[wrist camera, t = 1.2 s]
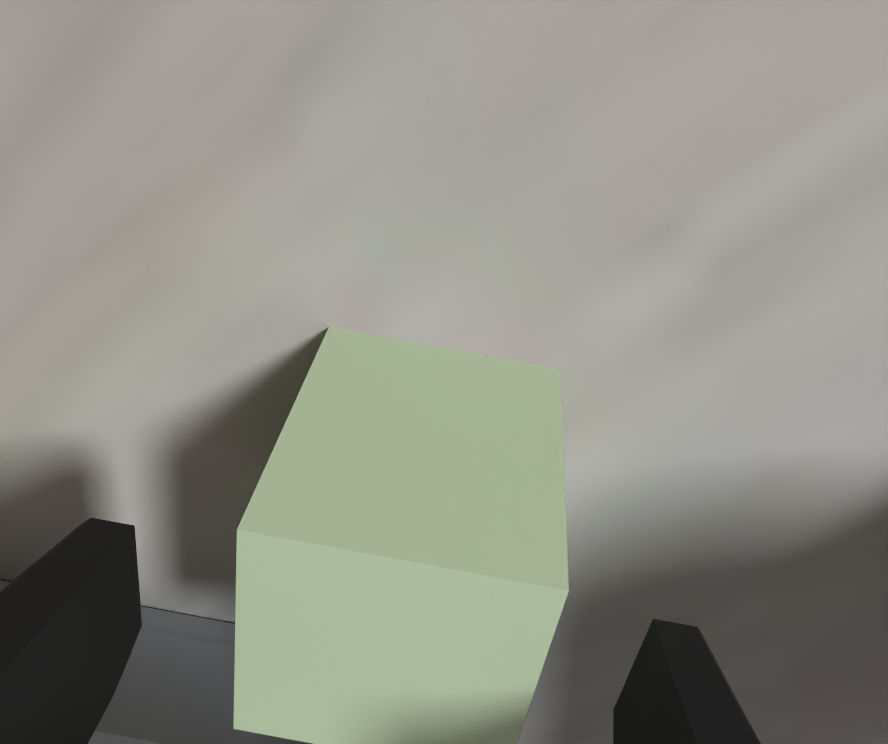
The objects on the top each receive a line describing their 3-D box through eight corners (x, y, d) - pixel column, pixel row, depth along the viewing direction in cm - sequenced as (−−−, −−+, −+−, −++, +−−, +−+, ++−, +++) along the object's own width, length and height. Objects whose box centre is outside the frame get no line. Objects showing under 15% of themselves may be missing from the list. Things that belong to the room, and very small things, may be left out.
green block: (560, 368, 14) (568, 590, 10) (514, 537, 16) (504, 779, 12) (329, 325, 14) (236, 529, 10) (314, 500, 16) (233, 728, 12)
